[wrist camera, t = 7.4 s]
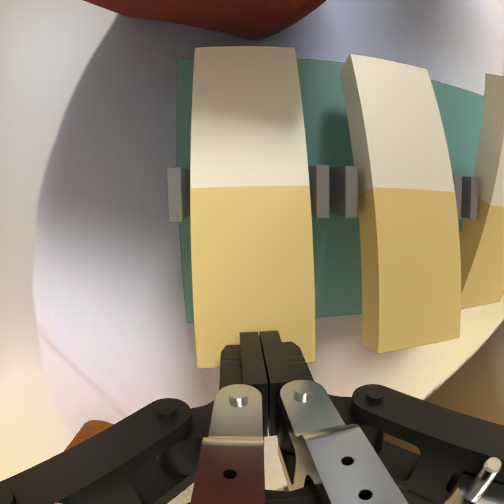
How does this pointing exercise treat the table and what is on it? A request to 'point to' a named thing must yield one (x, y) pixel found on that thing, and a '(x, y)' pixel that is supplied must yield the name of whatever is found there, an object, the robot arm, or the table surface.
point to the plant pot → (219, 13)
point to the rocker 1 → (249, 201)
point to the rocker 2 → (403, 206)
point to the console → (331, 177)
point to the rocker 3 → (486, 208)
